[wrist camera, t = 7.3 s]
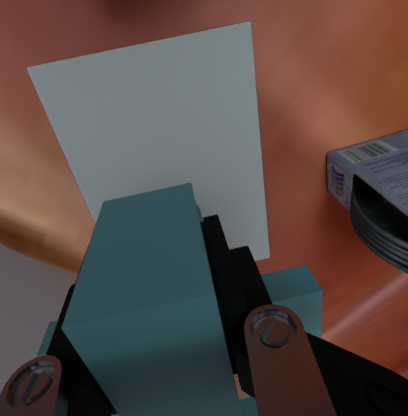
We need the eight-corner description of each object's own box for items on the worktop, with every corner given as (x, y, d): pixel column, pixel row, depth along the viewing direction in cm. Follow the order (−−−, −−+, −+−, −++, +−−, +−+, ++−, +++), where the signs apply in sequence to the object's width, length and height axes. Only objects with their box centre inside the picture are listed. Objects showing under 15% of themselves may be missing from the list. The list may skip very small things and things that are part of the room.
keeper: (32, 66, 22) (-82, 93, 12) (246, 21, 22) (321, 9, 12) (125, 282, 33) (110, 393, 23) (266, 250, 33) (313, 346, 23)
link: (-16, 227, 10) (-149, 375, 6) (306, 157, 10) (414, 248, 6) (129, 438, 18) (120, 564, 14) (305, 397, 18) (350, 508, 14)
